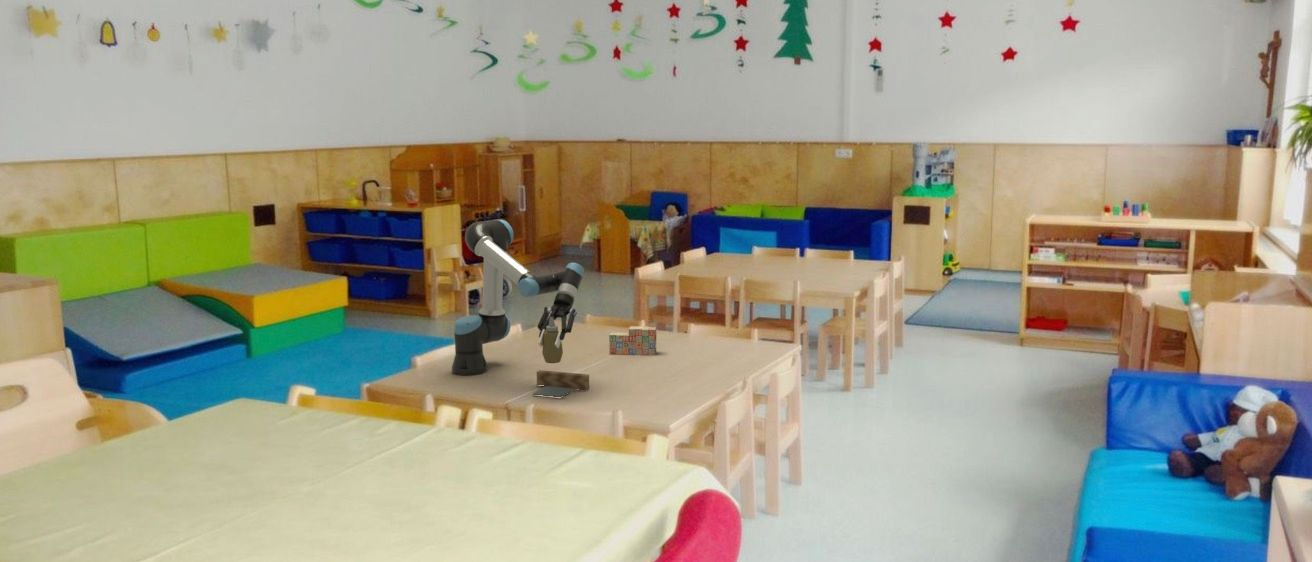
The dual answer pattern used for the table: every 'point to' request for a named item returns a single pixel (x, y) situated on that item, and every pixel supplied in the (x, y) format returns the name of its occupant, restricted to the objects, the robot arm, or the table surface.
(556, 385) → the walnut rail
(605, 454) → the table surface
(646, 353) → the stack of blocks
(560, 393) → the grey rubber pad
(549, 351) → the squeeze bottle
